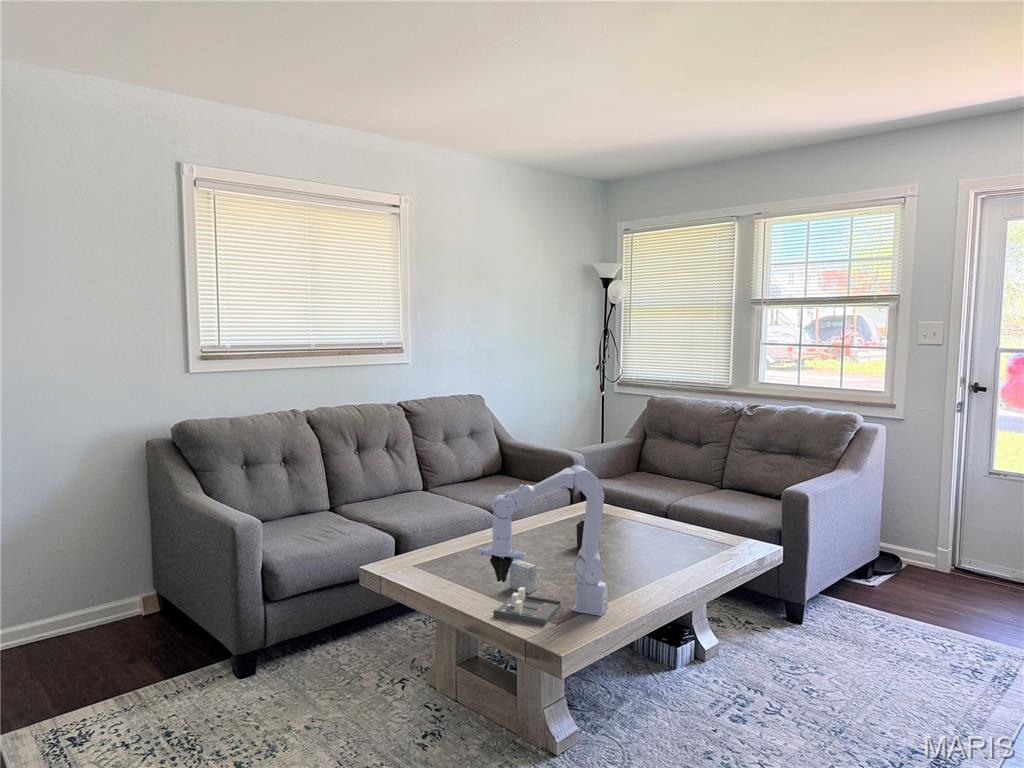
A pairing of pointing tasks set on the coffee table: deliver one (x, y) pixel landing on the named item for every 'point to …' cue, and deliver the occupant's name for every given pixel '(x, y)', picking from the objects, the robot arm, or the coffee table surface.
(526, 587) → the medicine box
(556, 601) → the breaker panel
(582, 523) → the pen holder
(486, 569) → the coffee table surface
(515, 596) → the block
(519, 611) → the block
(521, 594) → the breaker
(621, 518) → the coffee table surface
